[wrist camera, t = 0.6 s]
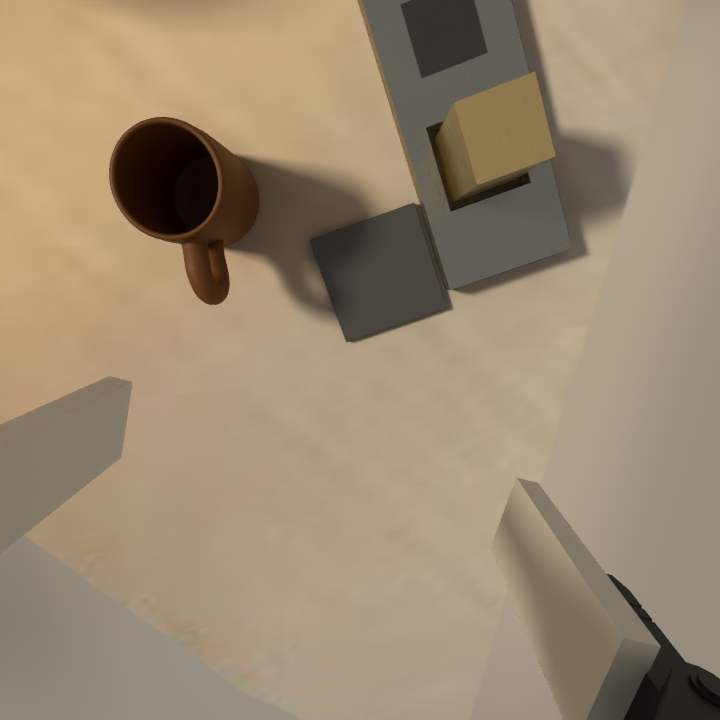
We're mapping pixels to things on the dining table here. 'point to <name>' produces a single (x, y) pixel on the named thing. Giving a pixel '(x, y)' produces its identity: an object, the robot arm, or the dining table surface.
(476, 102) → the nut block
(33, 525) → the robot arm
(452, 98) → the grey board with slots
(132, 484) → the dining table surface
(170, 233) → the mug
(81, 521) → the dining table surface
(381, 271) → the rubber mat
